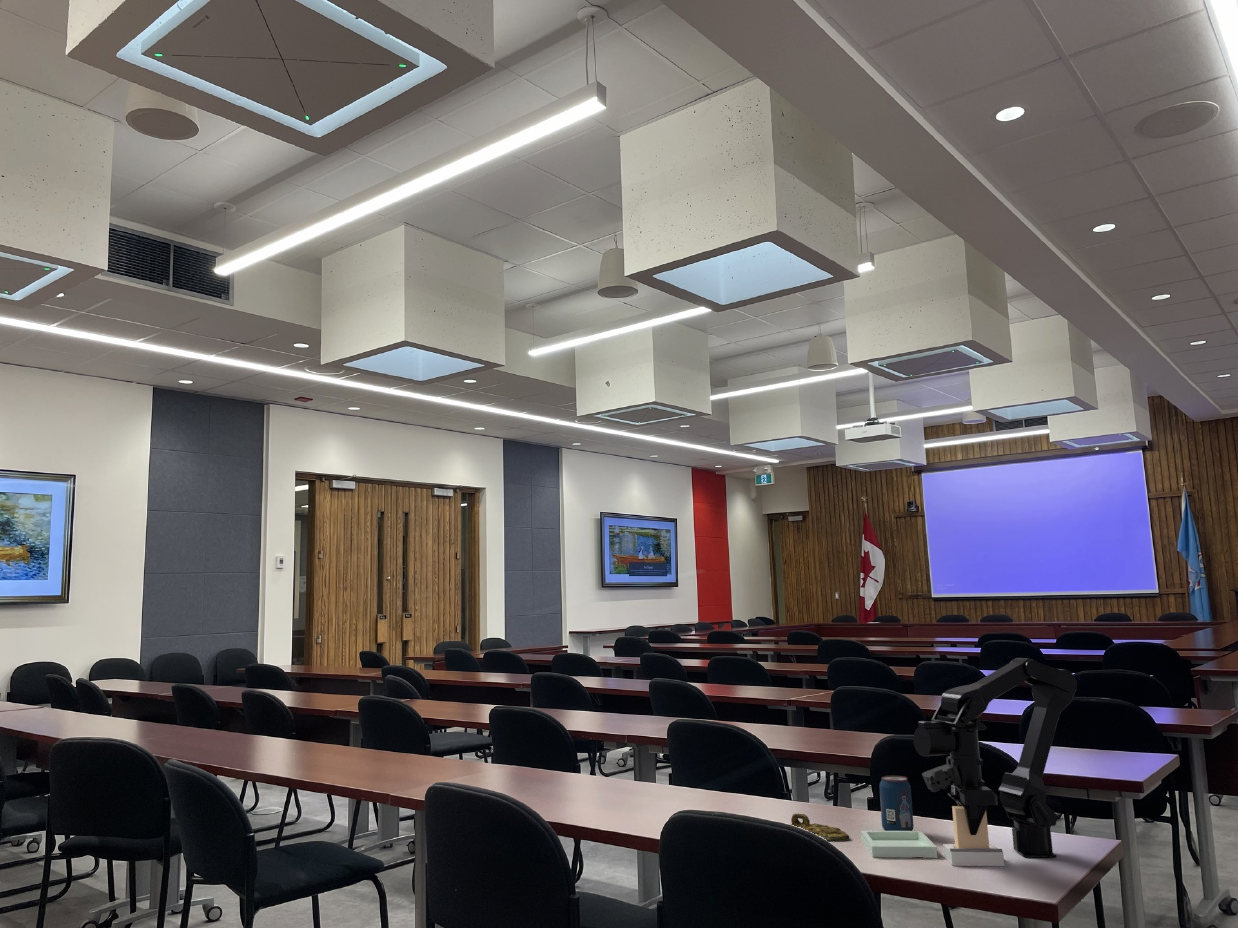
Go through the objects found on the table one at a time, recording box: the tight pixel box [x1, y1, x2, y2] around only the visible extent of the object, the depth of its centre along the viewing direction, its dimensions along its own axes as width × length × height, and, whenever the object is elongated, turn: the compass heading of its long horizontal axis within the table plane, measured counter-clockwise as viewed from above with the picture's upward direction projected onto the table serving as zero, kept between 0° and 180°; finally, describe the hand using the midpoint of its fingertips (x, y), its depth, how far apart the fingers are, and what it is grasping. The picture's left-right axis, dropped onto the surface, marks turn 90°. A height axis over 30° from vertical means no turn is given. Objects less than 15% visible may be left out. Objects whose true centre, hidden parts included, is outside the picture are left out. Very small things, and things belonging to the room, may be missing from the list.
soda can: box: [879, 775, 915, 831], centre depth 199 cm, size 7×7×12 cm
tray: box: [860, 830, 938, 859], centre depth 184 cm, size 13×13×2 cm
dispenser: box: [942, 843, 1005, 867], centre depth 174 cm, size 10×6×3 cm, turn 84°
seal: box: [790, 813, 850, 842], centre depth 197 cm, size 9×5×15 cm
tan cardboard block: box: [951, 805, 990, 849], centre depth 175 cm, size 6×2×9 cm, turn 84°
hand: (971, 832), depth 175 cm, fingers closed on tan cardboard block, 2 cm apart
